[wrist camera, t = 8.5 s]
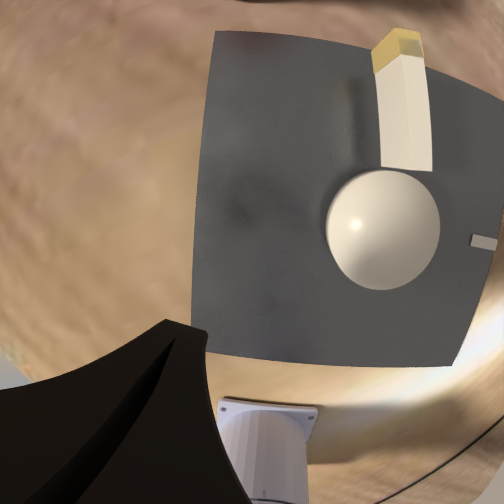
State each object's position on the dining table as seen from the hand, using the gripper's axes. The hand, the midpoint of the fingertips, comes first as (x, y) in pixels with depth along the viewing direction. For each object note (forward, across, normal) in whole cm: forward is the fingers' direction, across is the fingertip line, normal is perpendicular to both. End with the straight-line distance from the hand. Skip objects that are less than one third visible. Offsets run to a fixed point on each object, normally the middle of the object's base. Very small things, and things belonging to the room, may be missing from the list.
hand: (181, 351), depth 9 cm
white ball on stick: (+8, -7, -7) cm, 13 cm away
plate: (+10, -8, -4) cm, 13 cm away
